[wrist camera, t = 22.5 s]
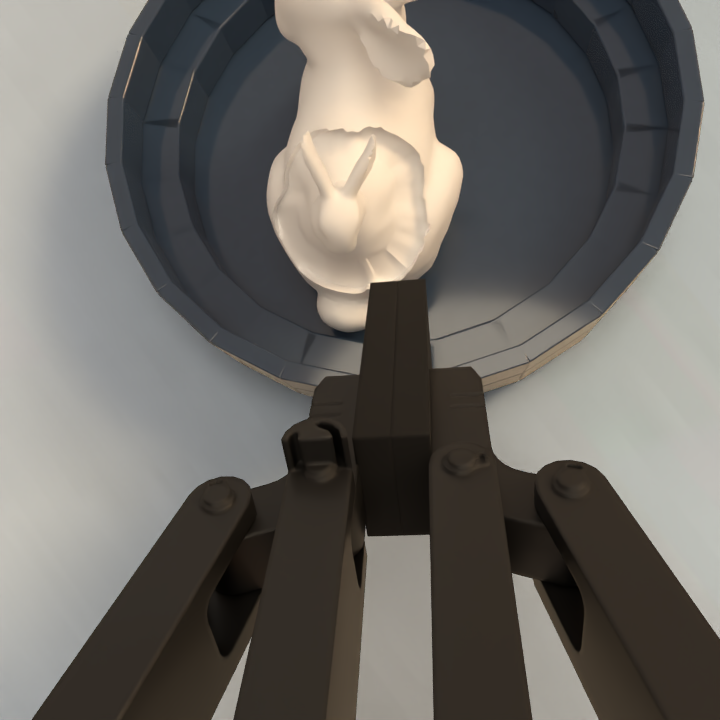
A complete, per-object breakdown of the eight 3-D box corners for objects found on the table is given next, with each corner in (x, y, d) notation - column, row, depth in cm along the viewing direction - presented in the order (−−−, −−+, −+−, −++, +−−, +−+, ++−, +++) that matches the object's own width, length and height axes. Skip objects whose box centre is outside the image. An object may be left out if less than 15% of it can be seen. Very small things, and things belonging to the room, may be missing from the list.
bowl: (150, 425, 25) (94, 411, 21) (159, -25, 29) (115, -106, 25) (698, 393, 23) (748, 371, 19) (628, -91, 27) (657, -191, 23)
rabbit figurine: (315, 37, 27) (241, -216, 17) (513, 40, 25) (550, -230, 16) (274, 337, 24) (163, 234, 15) (490, 354, 23) (516, 254, 14)
